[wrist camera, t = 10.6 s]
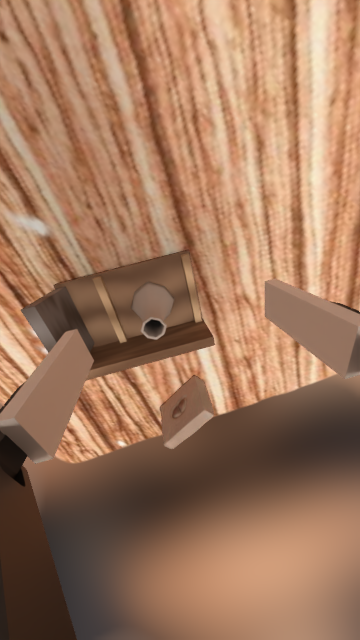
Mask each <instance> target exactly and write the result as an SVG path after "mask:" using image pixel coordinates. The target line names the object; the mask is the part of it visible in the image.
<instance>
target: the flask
mask: <svg viewBox="0 0 360 640" xmlns="http://www.w3.org/2000/svg"><path fill="white" fill-rule="evenodd" d="M174 299H175V298H174V297H173V296H172V295H171V294H170V292H169V291H168V290H167V289H166V287H165V286H162V285H159V284H155V283H151V282H147V283H145V284H144V285H143V286H142V287H140V288H139V289H138V290H137V291H135V292H134V296H133V301H132V306H131V308H132V309H133V311H134V312H135V313H136V314H137V315H138V316H139V317H140V318H141V319H142V321H143V324H142V328H141V332H142V333H143V334H144V335H145V336H146V337H147V338H149V339H155V340H157V339H159V338H160V337H161V336H163V335H164V334H165V331H166V327H167V325H166V324H165V322H164V320H165V319H166V317H167V316H168V315H169V314H170V313H171V309H172V306H173V303H174Z"/></svg>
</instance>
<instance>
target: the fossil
mask: <svg viewBox="0 0 360 640" xmlns="http://www.w3.org/2000/svg"><path fill="white" fill-rule="evenodd" d="M160 411H161V416H162V420H161V421H162V433H163V441H164V446H166V447H168V448H170V449H173V448H175V447H176V446H177V445H178V444H180V443H181V442H182V441H183V440H185V439H186V438H187V437H189V436H191V435H192V434H193V433H194V432H196V431H197V430H198V429H199V428H200V427H202V425H203V424H205V423H206V422H207V421H208V420H210V419H211V418H212V417H213V416H214V414H213V407H212V403H211V400H210V398H209V395H208V392H207V389H206V386H205V382H204V381H203V380H201V379H200V378H198V377H197V376H195V375H194V376H193V377H192V378H191V379H189V380H188V381H187V382H186V383H185V384H184V385H183V386H182V387H181V388H180V389H179V390H178V391H176V393H175V394H173V395H172V396H171V397H170V398H169V399H168V400H167V401H166V403H164V404H163V405H162V406H161V407H160Z"/></svg>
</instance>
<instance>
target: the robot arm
mask: <svg viewBox="0 0 360 640" xmlns="http://www.w3.org/2000/svg"><path fill="white" fill-rule="evenodd" d="M265 317H266V318H268V319H269V320H270V321H271V322H273V323H274V324H275V325H276V326H278V327H279V328H280V329H282V330H283V331H284V332H285V333H287V334H288V335H289V336H290V337H292V338H293V339H294V340H296V341H297V342H298V343H299V344H301V345H302V346H303V347H304V348H306V349H307V350H308V351H310V352H311V353H312V354H313V355H315V356H316V357H317V358H318V359H320V360H321V361H322V362H324V363H325V364H326V365H327V366H329V367H330V368H331V369H332V370H334V371H335V372H336V373H338V374H339V375H340V376H341V377H343V378H344V379H347V378H350V377H354V376H358V375H360V312H359V311H358V310H355V309H353V308H352V309H351V308H350V307H348V306H345V305H343V304H340V303H335V302H330V301H327V300H325V299H322V298H320V297H318V296H315V295H313V294H311V293H308V292H306V291H303V290H301V289H299V288H296V287H294V286H291V285H289V284H287V283H284V282H282V281H280V280H277V279H272V280H268V281H265ZM93 362H94V360H93V358H92V356H91V354H90V352H89V350H88V349H87V347H86V345H85V343H84V341H83V339H82V337H81V336H80V334H79V332H78V330H77V329H75V330H71V331H67V332H65V333H64V334H63V336H62V337H61V338H60V339H59V341H58V342H57V343H56V344H55V346H54V347H53V348H52V349H51V351H50V352H49V353H48V354H47V356H46V357H45V358H44V359H43V361H42V362H41V363H40V364H39V366H38V367H37V368H36V370H35V371H34V372H33V373H32V375H31V376H30V377H29V378H28V380H27V381H26V382H25V383H23V384H22V385H21V386H20V387H19V388H17V390H16V391H15V392H14V393H13V395H12V396H11V397H10V399H8V401H7V402H6V403H5V404H4V405H5V406H3V407H2V408H1V409H0V640H77V639H76V635H75V631H74V628H73V625H72V621H71V618H70V615H69V611H68V608H67V604H66V601H65V598H64V594H63V591H62V587H61V584H60V581H59V577H58V574H57V570H56V567H55V564H54V560H53V557H52V554H51V550H50V547H49V544H48V540H47V537H46V533H45V530H44V527H43V523H42V520H41V516H40V513H39V510H38V506H37V503H36V499H35V496H34V493H33V489H32V486H31V483H30V479H29V476H28V472H27V470H26V469H25V467H23V466H22V465H23V463H24V461H25V459H26V457H27V456H28V457H29V458H30V459H31V460H32V461H33V462H34V463H35V464H36V463H39V462H43V461H46V460H50V459H53V458H54V456H55V453H56V451H57V448H58V446H59V444H60V441H61V439H62V436H63V434H64V432H65V429H66V427H67V424H68V422H69V420H70V417H71V415H72V412H73V410H74V408H75V405H76V403H77V400H78V398H79V395H80V393H81V391H82V388H83V386H84V383H85V381H86V379H87V376H88V374H89V371H90V369H91V367H92V364H93Z"/></svg>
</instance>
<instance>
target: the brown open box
mask: <svg viewBox="0 0 360 640" xmlns="http://www.w3.org/2000/svg"><path fill="white" fill-rule="evenodd" d="M147 282H151V283H155V284H159V285H162V286H165V287H166V289H167V290H168V291H169V292H170V294H171V295H172V296H173V297H174V298H175V299H174V303H173V306H172V309H171V313H170V314H169V315H168V316H167V317H166V319H165V320H164V322H165V324H166V325H167V327H166V331H165V334H164V335H163V336H161V337H160V338H159V339H157V340H155V339H149V338H147V337H146V336H145V335H144V334H143V333H142V332H141V328H142V324H143V321H142V319H141V318H140V317H139V316H138V315H137V314H136V313H135V312H134V311H133V309H132V308H131V306H132V301H133V296H134V292H135V291H137V290H138V289H139V288H140V287H142V286H143V285H144V284H145V283H147ZM54 287H55V290H53V291H51V292H50V293H48V294H46V295H45V296H43V297H41V298H40V299H38V300H36V301H35V302H33V303H31V304H30V305H28V306H26V307H25V308H23V309H21V311H22V313H23V314H24V316H25V317H26V319H27V320H28V322H29V323H30V325H31V327H32V328H33V330H34V331H35V333H36V334H37V336H38V337H39V339H40V340H41V342H42V343H43V345H44V346H45V348H46V349H47V351H48V353H49V352H50V351H51V349H52V348H53V347H54V346H55V344H56V343H57V342H58V341H59V339H60V338H61V337H62V336H63V334H64V333H65V332H67V331H71V330H75V329H77V330H78V332H79V334H80V336H81V337H82V339H83V341H84V343H85V345H86V347H87V349H88V350H89V352H90V354H91V356H92V358H93V360H94V362H93V364H92V367H91V369H90V371H89V374H88V376H87V379H86V380H89V379H93V378H97V377H100V376H104V375H108V374H111V373H115V372H119V371H122V370H126V369H129V368H133V367H137V366H140V365H144V364H148V363H151V362H155V361H159V360H162V359H166V358H169V357H173V356H177V355H180V354H184V353H188V352H191V351H195V350H199V349H202V348H206V347H210V346H213V345H215V343H214V338H213V335H212V334H211V332H210V330H209V329H208V327H207V325H206V324H205V322H204V320H203V319H202V314H201V309H200V304H199V299H198V294H197V288H196V283H195V278H194V273H193V268H192V263H191V258H190V252H189V250H185V251H181V252H177V253H173V254H169V255H166V256H162V257H158V258H154V259H150V260H146V261H142V262H138V263H135V264H131V265H127V266H123V267H119V268H115V269H111V270H108V271H104V272H100V273H96V274H92V275H88V276H84V277H80V278H77V279H73V280H69V281H65V282H61V283H57V284H55V285H54Z"/></svg>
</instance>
